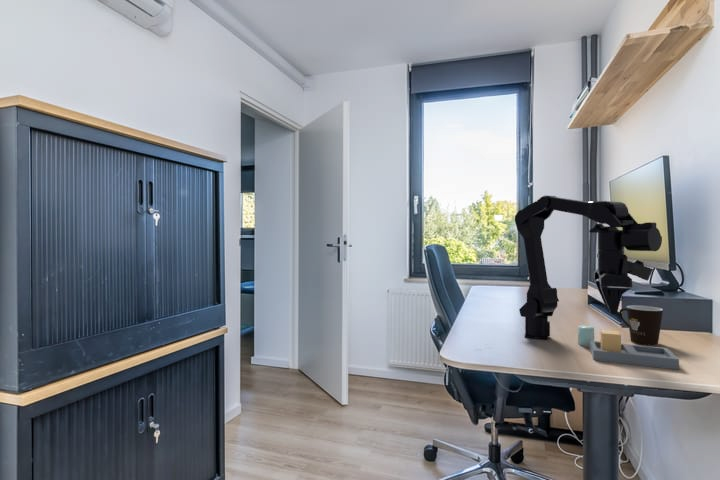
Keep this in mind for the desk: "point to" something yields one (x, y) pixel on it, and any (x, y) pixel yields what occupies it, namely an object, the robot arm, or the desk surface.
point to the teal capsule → (585, 335)
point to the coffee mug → (643, 324)
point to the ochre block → (610, 341)
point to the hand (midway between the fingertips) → (611, 311)
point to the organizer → (636, 355)
